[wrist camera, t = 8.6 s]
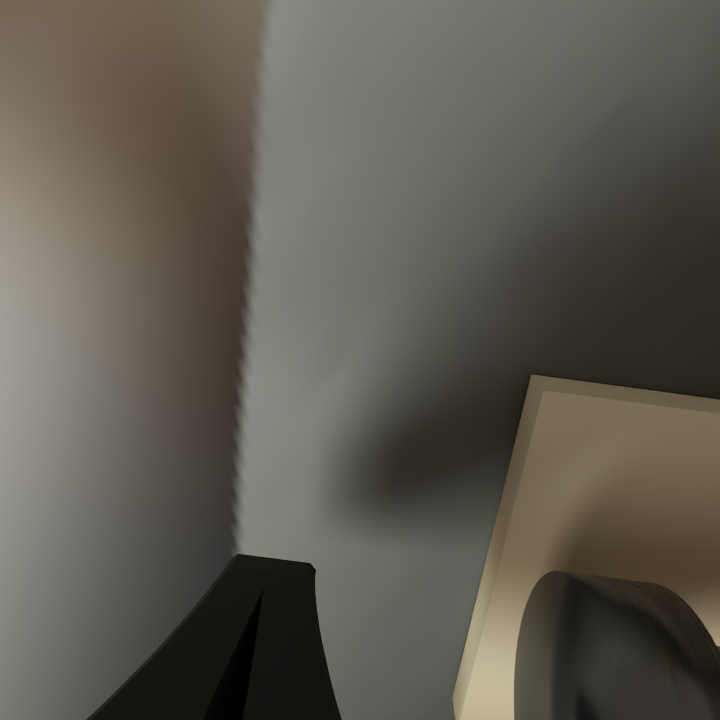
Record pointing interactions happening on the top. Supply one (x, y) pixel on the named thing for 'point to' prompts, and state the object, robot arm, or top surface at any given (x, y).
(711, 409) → the bearing bed
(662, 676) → the shaft
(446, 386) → the top surface
